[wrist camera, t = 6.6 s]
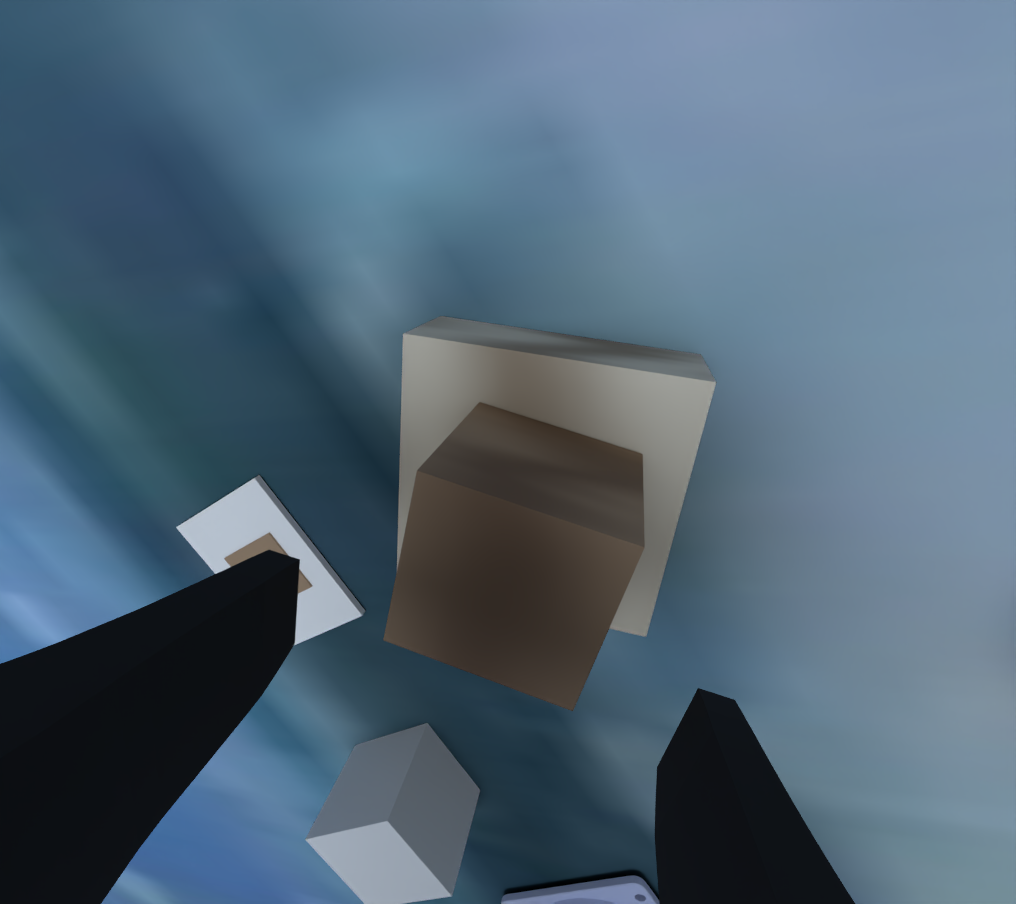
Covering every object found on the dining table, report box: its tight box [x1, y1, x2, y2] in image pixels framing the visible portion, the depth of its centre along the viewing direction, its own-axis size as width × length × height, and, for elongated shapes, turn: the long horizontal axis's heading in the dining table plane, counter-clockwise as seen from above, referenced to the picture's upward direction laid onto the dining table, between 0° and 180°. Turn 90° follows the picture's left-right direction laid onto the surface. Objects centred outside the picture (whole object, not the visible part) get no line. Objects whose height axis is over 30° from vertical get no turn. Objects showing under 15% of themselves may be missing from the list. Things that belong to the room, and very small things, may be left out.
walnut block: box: [384, 402, 645, 711], centre depth 13 cm, size 4×4×4 cm
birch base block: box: [397, 316, 716, 637], centre depth 17 cm, size 8×8×4 cm
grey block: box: [305, 723, 480, 904], centre depth 24 cm, size 4×4×4 cm
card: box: [176, 475, 365, 645], centre depth 22 cm, size 7×5×1 cm
